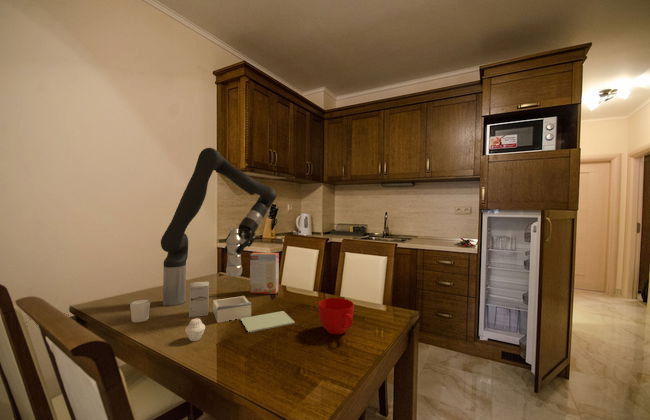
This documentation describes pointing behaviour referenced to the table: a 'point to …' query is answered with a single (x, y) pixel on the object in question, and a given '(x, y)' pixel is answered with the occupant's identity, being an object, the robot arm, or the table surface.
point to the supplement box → (198, 299)
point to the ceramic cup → (336, 314)
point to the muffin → (195, 329)
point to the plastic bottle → (233, 254)
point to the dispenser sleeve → (231, 308)
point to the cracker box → (264, 273)
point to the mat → (266, 321)
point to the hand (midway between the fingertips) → (231, 252)
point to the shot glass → (140, 310)
